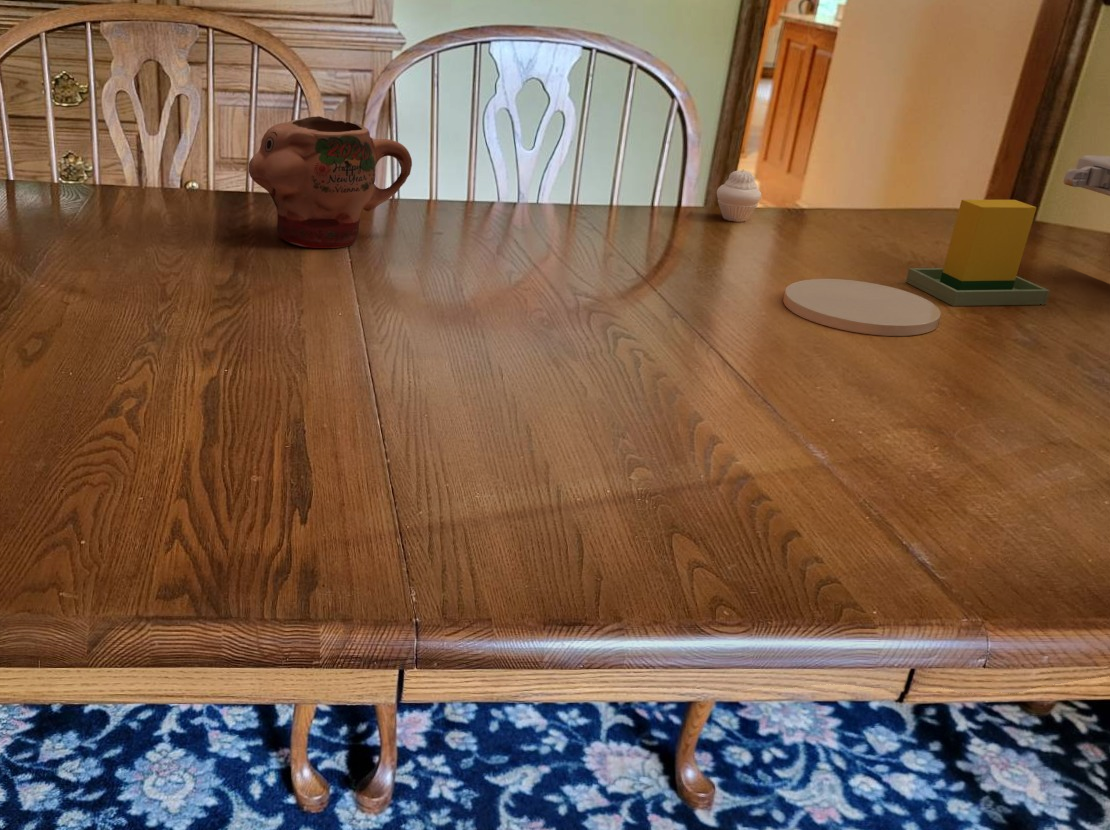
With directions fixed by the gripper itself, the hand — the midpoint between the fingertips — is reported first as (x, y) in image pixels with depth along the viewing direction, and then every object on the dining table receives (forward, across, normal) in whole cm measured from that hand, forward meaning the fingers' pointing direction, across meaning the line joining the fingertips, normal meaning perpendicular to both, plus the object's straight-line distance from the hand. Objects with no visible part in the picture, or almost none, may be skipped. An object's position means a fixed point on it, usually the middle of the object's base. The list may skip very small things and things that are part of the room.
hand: (1098, 186), depth 125 cm
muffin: (+26, -35, +12) cm, 45 cm away
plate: (+30, +6, +13) cm, 33 cm away
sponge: (+12, 0, +12) cm, 17 cm away
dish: (+12, 0, +12) cm, 17 cm away
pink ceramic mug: (+85, -25, +13) cm, 89 cm away
